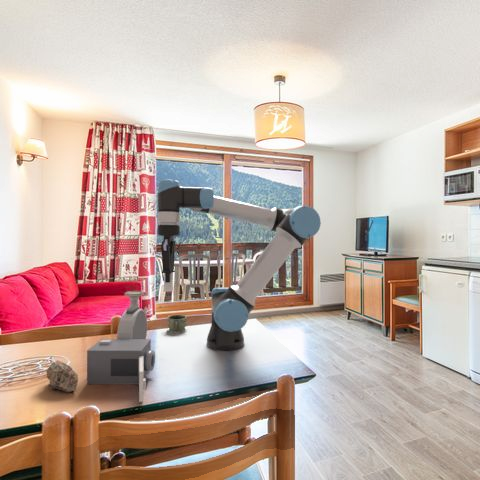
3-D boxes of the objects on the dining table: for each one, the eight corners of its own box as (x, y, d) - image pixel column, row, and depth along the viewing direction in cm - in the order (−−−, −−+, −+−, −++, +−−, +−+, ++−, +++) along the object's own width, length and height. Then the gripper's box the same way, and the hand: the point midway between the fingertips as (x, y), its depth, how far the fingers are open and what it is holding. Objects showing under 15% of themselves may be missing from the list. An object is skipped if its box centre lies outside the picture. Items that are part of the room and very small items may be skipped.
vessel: (168, 326, 149) (168, 313, 149) (186, 326, 150) (187, 313, 150) (166, 334, 137) (166, 320, 137) (186, 333, 138) (186, 319, 138)
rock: (56, 358, 95) (34, 367, 85) (93, 359, 95) (75, 367, 85) (54, 382, 94) (32, 394, 84) (91, 383, 94) (73, 394, 84)
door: (138, 383, 91) (138, 356, 91) (145, 382, 92) (145, 355, 91) (138, 402, 81) (138, 371, 81) (145, 401, 81) (145, 371, 81)
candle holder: (149, 340, 130) (150, 291, 129) (132, 346, 122) (132, 295, 122) (135, 336, 134) (136, 289, 134) (118, 341, 127) (118, 292, 127)
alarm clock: (127, 348, 120) (128, 301, 119) (153, 349, 119) (154, 302, 119) (108, 366, 103) (108, 312, 103) (138, 367, 103) (139, 313, 103)
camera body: (157, 369, 102) (157, 336, 101) (148, 384, 92) (148, 348, 91) (101, 369, 101) (101, 336, 101) (86, 384, 91) (86, 348, 91)
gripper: (162, 224, 115) (162, 287, 116) (153, 223, 102) (152, 294, 103) (182, 225, 115) (182, 288, 116) (176, 224, 102) (175, 294, 103)
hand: (168, 291), depth 109 cm, fingers closed
